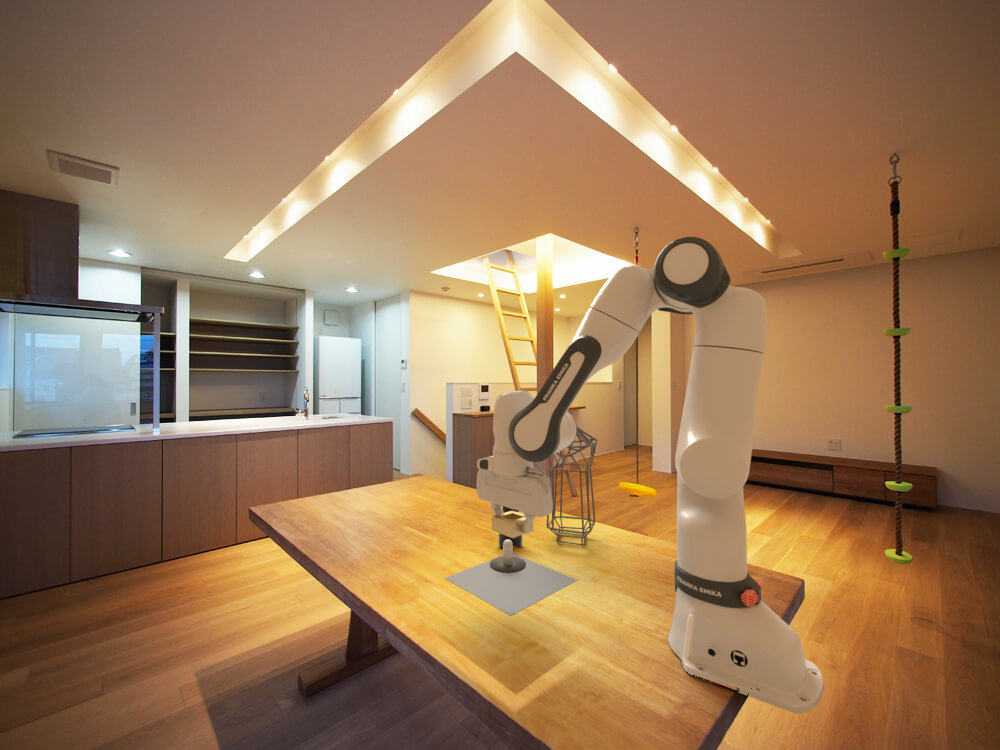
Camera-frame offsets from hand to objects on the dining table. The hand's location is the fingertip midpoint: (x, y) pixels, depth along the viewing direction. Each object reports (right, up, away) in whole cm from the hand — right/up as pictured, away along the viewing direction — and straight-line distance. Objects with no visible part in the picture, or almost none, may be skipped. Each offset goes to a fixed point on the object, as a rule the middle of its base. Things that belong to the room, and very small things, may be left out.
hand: (512, 527), depth 90 cm
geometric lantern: (+19, -17, +35) cm, 43 cm away
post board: (0, -16, +6) cm, 16 cm away
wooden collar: (0, -1, 0) cm, 1 cm away
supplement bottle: (0, -17, +30) cm, 34 cm away
